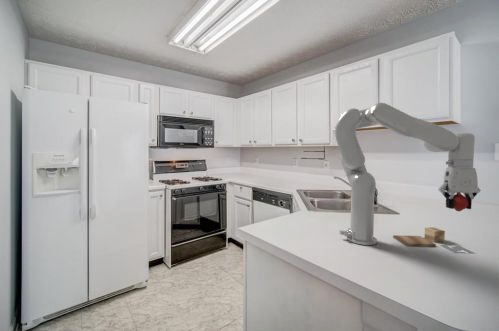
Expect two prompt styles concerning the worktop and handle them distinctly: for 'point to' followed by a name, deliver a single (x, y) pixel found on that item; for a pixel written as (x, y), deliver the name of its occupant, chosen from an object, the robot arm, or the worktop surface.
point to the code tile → (457, 249)
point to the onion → (460, 202)
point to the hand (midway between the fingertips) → (458, 207)
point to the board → (414, 241)
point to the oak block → (434, 234)
